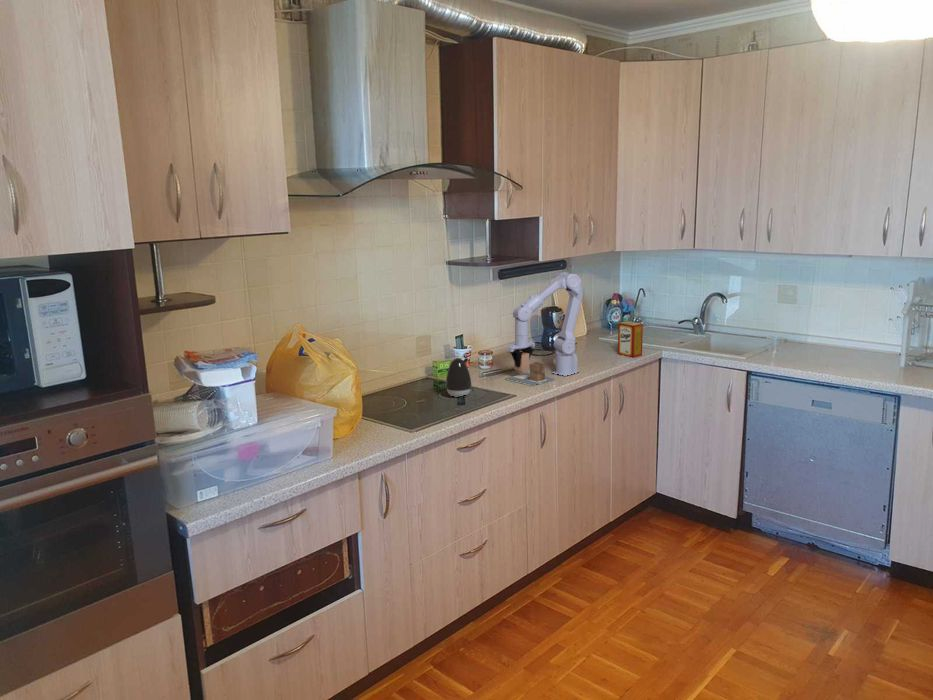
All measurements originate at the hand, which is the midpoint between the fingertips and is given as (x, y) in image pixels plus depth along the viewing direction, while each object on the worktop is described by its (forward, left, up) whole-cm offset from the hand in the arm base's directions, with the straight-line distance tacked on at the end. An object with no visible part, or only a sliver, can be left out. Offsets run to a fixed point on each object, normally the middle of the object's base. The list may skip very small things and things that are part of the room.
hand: (521, 365), depth 304 cm
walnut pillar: (0, +9, -5) cm, 10 cm away
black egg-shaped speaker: (+37, +1, -6) cm, 37 cm away
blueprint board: (0, +5, -5) cm, 7 cm away
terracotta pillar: (0, 0, -2) cm, 2 cm away
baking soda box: (-67, +9, -6) cm, 68 cm away
